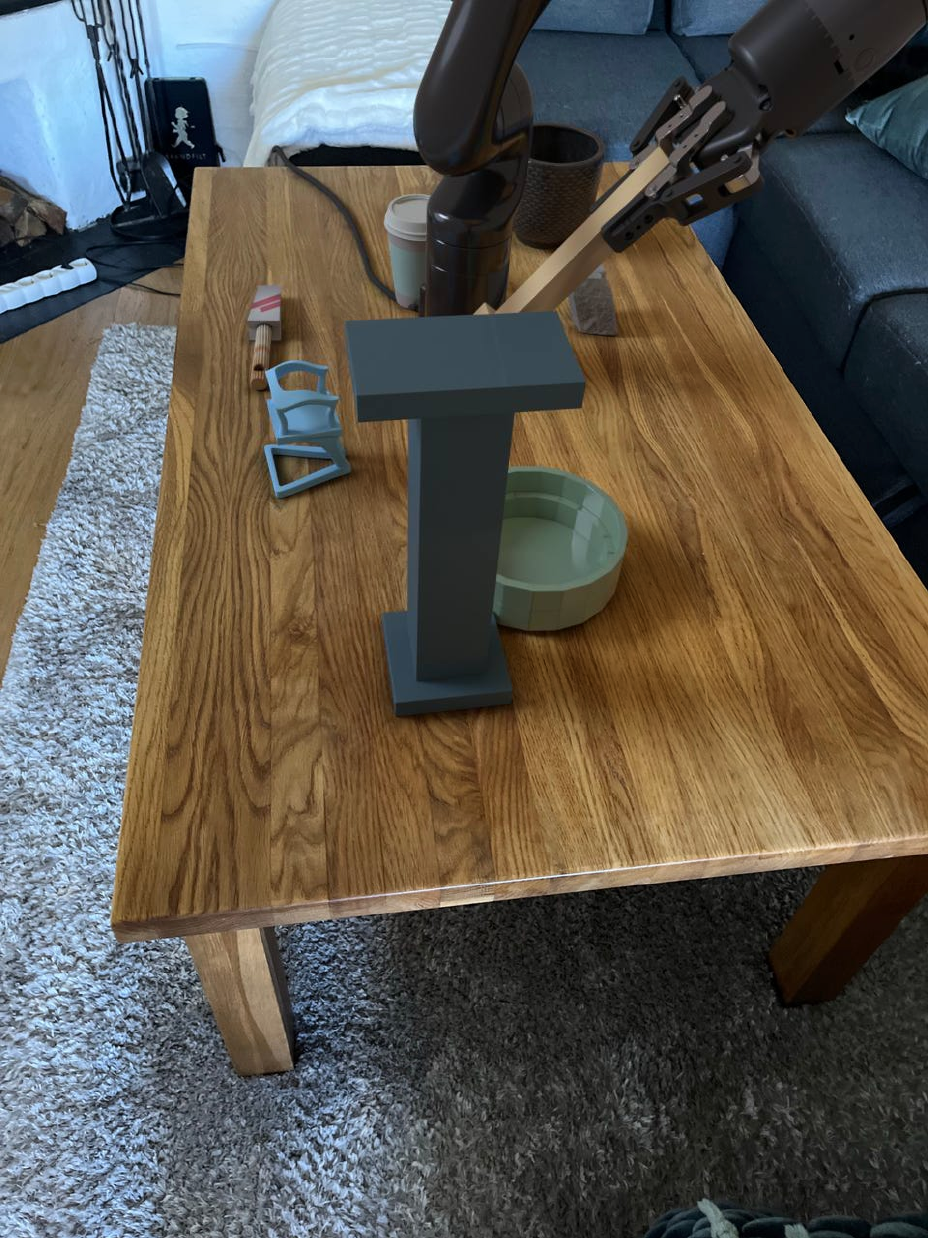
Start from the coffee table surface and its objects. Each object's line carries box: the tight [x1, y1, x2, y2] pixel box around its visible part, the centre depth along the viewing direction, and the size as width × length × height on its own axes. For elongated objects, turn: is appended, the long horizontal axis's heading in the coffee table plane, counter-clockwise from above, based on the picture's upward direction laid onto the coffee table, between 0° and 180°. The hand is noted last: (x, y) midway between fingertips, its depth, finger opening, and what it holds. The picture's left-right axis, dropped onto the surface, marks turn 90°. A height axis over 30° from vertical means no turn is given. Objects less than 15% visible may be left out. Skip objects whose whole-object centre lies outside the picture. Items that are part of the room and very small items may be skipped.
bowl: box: [493, 465, 629, 632], centre depth 89 cm, size 17×17×6 cm
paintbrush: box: [246, 284, 282, 391], centre depth 113 cm, size 4×3×20 cm
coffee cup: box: [383, 193, 431, 311], centre depth 117 cm, size 8×9×12 cm
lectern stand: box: [344, 310, 587, 717], centre depth 71 cm, size 14×10×32 cm
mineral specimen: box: [567, 263, 618, 336], centre depth 117 cm, size 7×9×8 cm
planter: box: [512, 121, 606, 250], centre depth 129 cm, size 14×14×13 cm
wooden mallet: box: [473, 146, 683, 315], centre depth 68 cm, size 22×5×2 cm
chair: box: [263, 359, 352, 499], centre depth 94 cm, size 8×8×12 cm
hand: (603, 231), depth 65 cm, fingers closed on wooden mallet, 2 cm apart
